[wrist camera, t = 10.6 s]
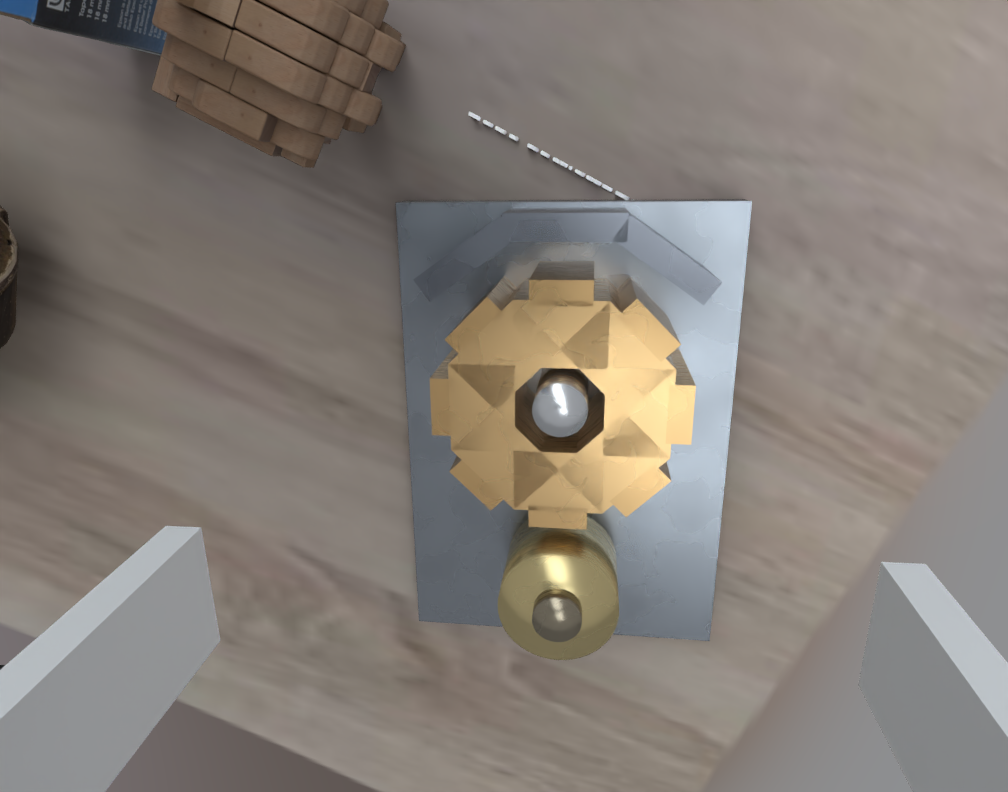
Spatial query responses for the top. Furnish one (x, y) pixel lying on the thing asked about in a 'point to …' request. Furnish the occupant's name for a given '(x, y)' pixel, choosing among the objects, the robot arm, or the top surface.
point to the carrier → (574, 420)
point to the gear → (611, 412)
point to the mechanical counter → (7, 278)
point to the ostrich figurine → (281, 69)
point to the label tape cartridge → (94, 20)
